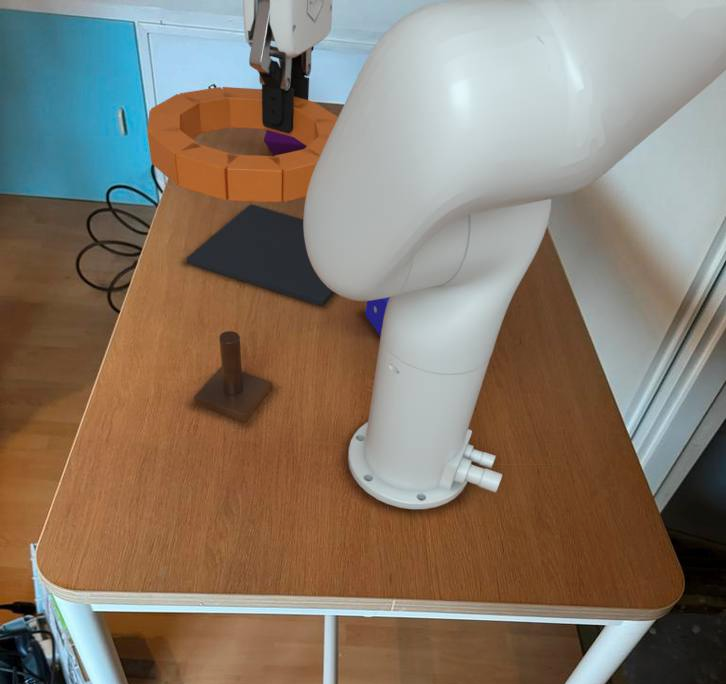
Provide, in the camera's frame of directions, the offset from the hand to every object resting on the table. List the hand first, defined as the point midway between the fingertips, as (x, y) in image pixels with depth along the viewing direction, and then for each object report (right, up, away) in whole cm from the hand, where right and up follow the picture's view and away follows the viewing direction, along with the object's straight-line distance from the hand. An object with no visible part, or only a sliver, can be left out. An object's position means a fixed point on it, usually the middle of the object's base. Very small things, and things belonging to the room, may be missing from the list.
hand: (285, 121), depth 66 cm
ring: (-3, -6, -4) cm, 8 cm away
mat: (-3, -5, +24) cm, 24 cm away
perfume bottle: (-5, +20, +45) cm, 50 cm away
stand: (-6, -28, +3) cm, 29 cm away
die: (+12, -17, +16) cm, 26 cm away
